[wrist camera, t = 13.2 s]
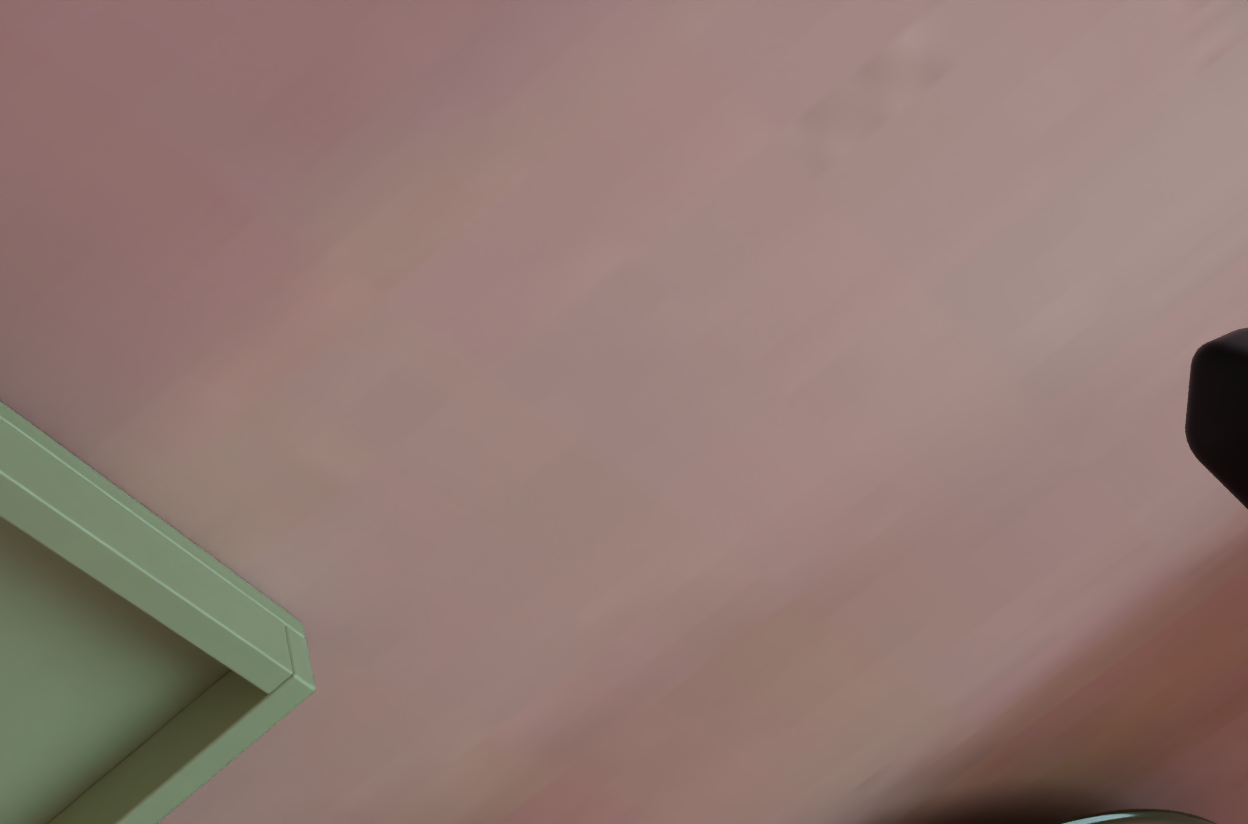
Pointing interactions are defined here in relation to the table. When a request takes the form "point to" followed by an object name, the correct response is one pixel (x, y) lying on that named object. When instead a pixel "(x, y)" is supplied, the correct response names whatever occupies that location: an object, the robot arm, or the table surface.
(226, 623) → the tray
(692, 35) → the table surface
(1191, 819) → the plate
